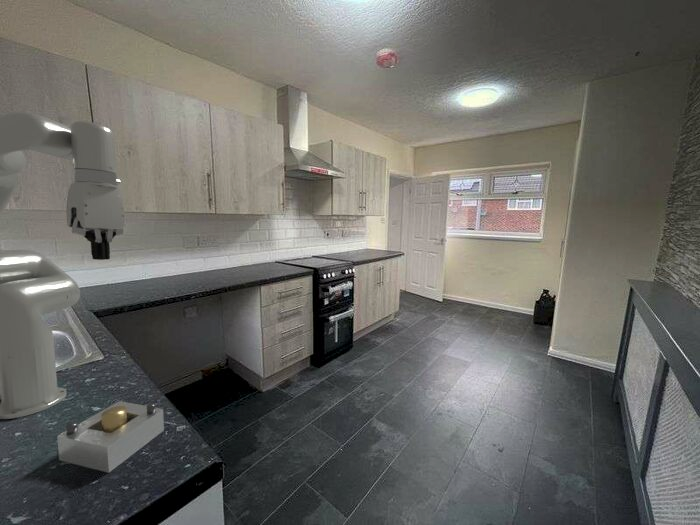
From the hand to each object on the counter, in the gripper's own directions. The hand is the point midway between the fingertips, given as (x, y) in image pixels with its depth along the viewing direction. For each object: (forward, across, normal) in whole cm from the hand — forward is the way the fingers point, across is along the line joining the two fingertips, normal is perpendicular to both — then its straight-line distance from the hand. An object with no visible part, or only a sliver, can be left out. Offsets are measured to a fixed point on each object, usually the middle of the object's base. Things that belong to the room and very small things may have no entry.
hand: (101, 259), depth 70 cm
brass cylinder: (+37, +10, +14) cm, 41 cm away
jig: (+37, +10, +14) cm, 41 cm away
